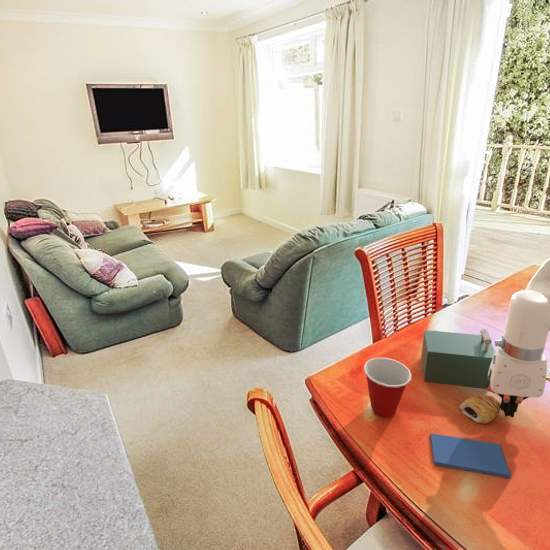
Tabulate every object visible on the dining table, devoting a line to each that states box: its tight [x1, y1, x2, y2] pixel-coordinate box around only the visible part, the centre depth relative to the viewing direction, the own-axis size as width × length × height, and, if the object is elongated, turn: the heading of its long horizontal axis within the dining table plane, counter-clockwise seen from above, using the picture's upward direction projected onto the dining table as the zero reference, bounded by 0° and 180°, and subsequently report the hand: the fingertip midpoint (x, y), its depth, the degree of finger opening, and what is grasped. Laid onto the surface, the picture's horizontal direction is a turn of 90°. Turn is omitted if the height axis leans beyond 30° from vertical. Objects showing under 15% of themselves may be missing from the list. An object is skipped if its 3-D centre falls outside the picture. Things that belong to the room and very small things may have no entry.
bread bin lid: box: [423, 328, 496, 361], centre depth 99 cm, size 16×11×4 cm, turn 75°
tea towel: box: [430, 433, 512, 479], centre depth 79 cm, size 14×8×1 cm, turn 74°
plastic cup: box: [363, 357, 412, 419], centre depth 90 cm, size 11×11×12 cm
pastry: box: [459, 394, 501, 424], centre depth 89 cm, size 9×7×4 cm
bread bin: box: [420, 333, 492, 390], centre depth 101 cm, size 16×11×9 cm
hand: (507, 412), depth 87 cm, fingers closed
